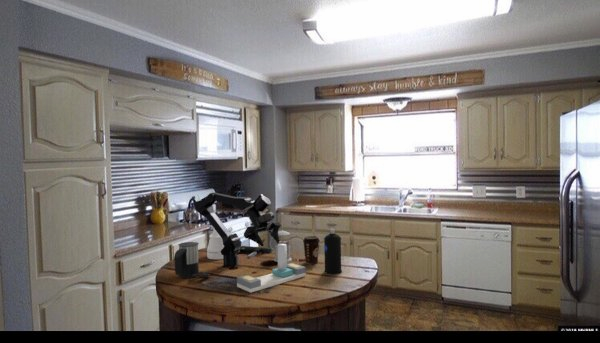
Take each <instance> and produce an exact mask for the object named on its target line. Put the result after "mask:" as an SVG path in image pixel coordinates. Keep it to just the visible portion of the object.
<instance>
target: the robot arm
mask: <svg viewBox="0 0 600 343" xmlns="http://www.w3.org/2000/svg"><path fill="white" fill-rule="evenodd" d="M216 202H218V203H221V204H227V205H230V206H231V205H232V206H233V207H234V208H235V209H238V210H241V211H244V210H245V211H244V212H243V216H242V217H244V218H248V219H249V220H250V226H247V227H246V228H245V231H244V232H243V237H244V238H245V239H246V240H247V239H248V240H250V241H253V242H255V243H256V244H258V245H259V246H260V247H264V242H263V240H262V238H261V236H260V234H259V233H263V232H269V233H270V234H269V235H270V236H271V238H272V237H273V238H272V239H273V240H275V243H276V242H278V243H279V240H280V238H279V237H280V236H278V232H279V231H280V230H279V229H280V228H282V223H281V221H280V222H279V221H274V222H271V221H273V219H275V214H274V213H273V211H270V212H268V213H264V214H261V213H263V212H265V211H266V210H267V208H268V207H269V206H271V205H272V201H271V200H270V198H268V197H267V196H265V195H264V194H259V196H258V197H257V198H256V199H255V200H254V199H252V198H251V197H250V196H249V197H248V196H240V197H239V196H233V195H228V194H224V193H223V194H222V193H218V192H217V191H215V192H210V193H209V194H207V196H204V197H203V198H202V199H200V200H197V201H196V202H195V204H194V210H195V211H196V212H197V213H198V214H199V215H201V216H203V217H204V218H205V219H206V220H207V221H208V222H209V223H210V225H211V227H213V229H215V230H216V231H217V233H218V234H219V235H220V237H221V238H222V241H223V245H224V248H223V249H222V250H221V254H222V255H223V259H222V260H223V265H222V266H221V267H222V268H235V267H236V266H238V265H239V256H238V255H237V253H236V252H239V249H240V247H241V246H242V241H241V238H240V237H239V236H238V234H237V233H235V232H234V233H231V231H230V230H229V229H228V228H227V226H226V225H225V224H224V223H223V222H222V220H221V219H220V218H219V217H218V215H217V214H216V213H215V211H214V206H213V205H214V204H216ZM270 222H271V224H270ZM269 224H270V225H269Z"/></svg>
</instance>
